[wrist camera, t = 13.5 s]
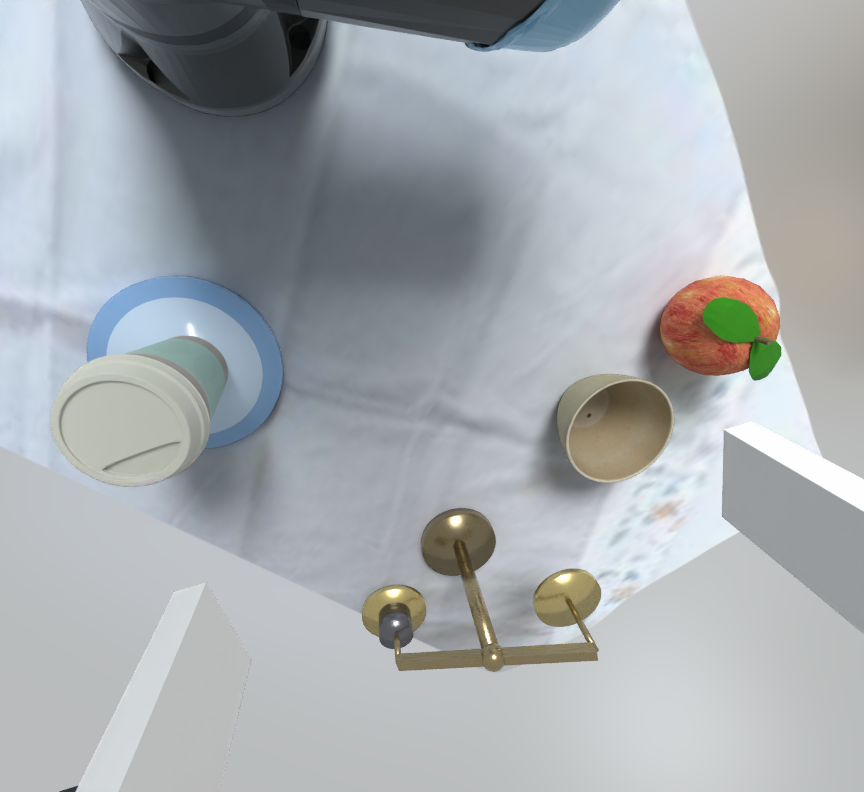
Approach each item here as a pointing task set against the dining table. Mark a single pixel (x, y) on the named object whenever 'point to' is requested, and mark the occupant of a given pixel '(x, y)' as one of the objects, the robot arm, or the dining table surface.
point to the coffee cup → (140, 411)
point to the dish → (207, 319)
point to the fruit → (722, 328)
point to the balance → (479, 602)
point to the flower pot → (614, 426)
